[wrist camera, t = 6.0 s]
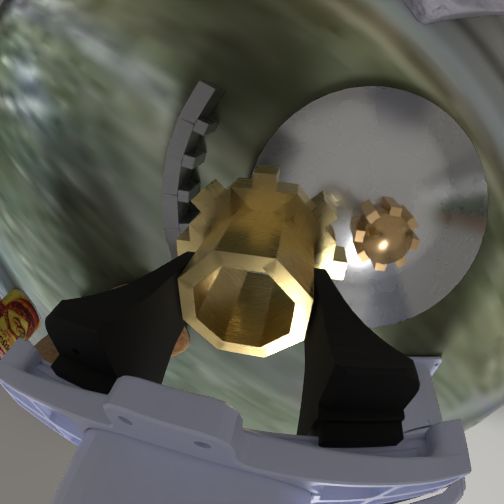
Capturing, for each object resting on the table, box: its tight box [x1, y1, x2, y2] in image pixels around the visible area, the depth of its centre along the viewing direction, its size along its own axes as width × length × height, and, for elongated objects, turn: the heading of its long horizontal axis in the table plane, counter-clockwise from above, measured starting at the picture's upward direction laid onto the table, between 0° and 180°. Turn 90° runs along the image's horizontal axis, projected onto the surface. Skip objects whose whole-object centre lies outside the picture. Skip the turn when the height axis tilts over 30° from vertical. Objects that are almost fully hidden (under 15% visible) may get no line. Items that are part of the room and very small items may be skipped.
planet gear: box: [176, 165, 347, 357], centre depth 13 cm, size 8×8×5 cm
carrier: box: [161, 81, 488, 328], centre depth 18 cm, size 20×26×4 cm
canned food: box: [0, 288, 41, 360], centre depth 30 cm, size 8×8×12 cm
